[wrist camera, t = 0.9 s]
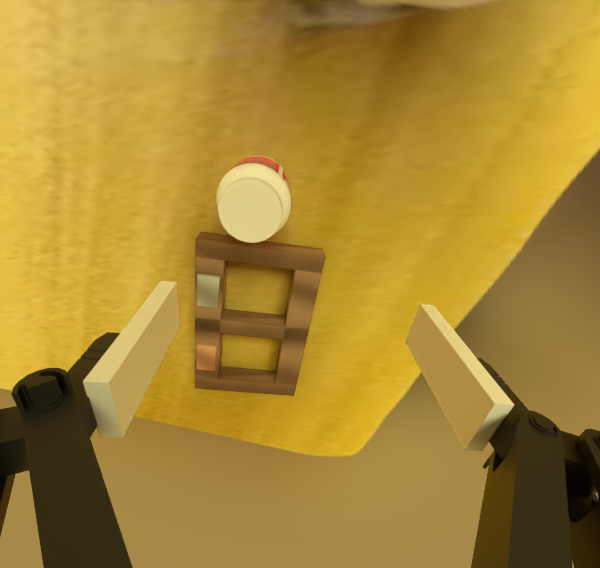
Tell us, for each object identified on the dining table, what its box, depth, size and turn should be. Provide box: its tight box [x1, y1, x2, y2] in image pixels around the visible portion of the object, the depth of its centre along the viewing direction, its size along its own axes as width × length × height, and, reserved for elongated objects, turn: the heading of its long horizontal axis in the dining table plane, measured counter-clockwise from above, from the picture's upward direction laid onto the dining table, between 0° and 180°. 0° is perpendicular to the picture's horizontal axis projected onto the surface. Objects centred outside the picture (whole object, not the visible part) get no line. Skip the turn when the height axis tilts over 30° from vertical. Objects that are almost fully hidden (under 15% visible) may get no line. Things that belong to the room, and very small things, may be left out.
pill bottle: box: [216, 155, 291, 243], centre depth 26 cm, size 6×6×11 cm
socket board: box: [195, 232, 325, 396], centre depth 38 cm, size 22×14×3 cm, turn 170°
